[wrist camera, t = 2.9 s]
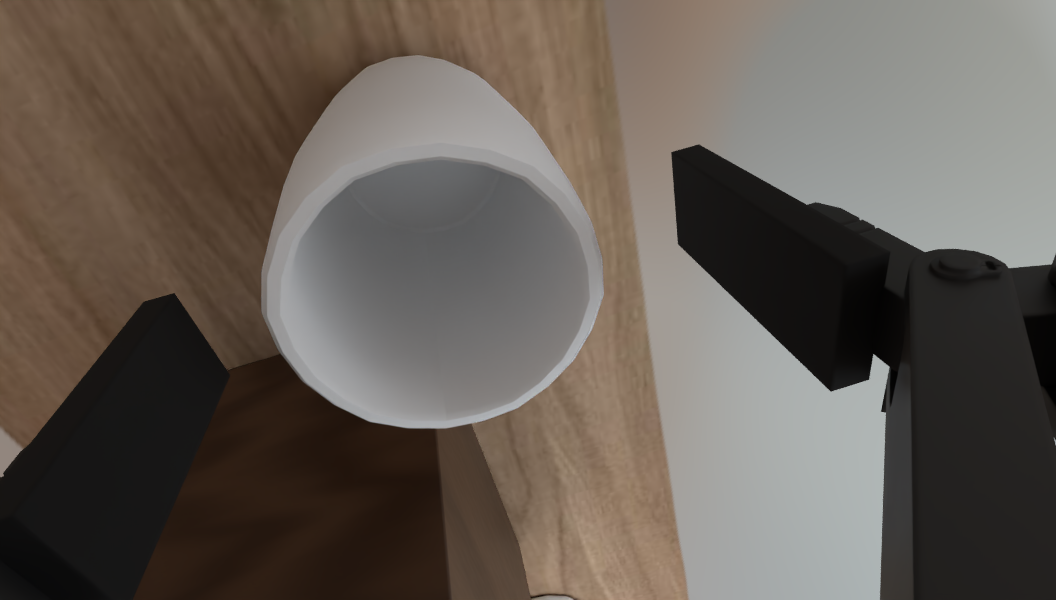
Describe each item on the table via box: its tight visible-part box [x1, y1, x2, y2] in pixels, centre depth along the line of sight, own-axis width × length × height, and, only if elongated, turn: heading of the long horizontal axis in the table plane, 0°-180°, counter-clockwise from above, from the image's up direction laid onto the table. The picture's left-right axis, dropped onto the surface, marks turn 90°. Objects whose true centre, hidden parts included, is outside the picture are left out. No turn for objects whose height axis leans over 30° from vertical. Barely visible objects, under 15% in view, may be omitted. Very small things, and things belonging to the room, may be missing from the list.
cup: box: [261, 55, 604, 428], centre depth 18 cm, size 8×8×14 cm
